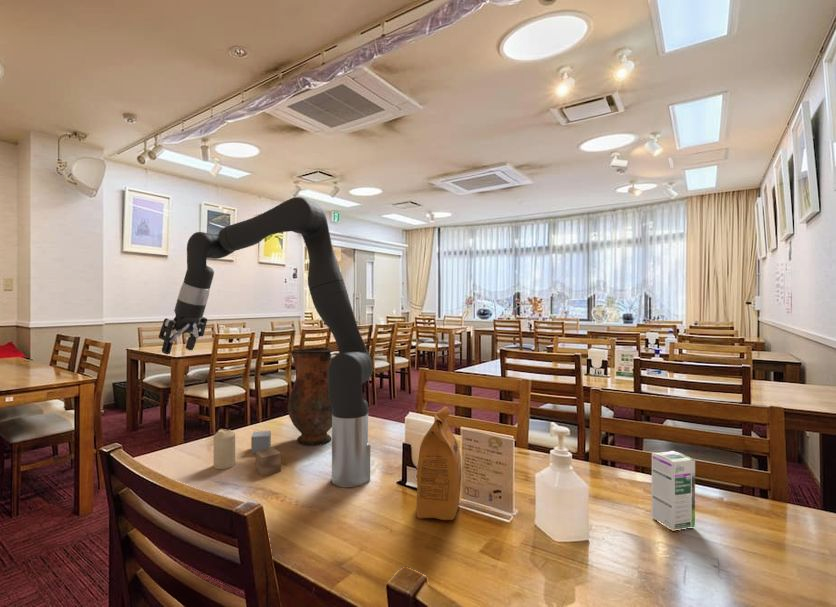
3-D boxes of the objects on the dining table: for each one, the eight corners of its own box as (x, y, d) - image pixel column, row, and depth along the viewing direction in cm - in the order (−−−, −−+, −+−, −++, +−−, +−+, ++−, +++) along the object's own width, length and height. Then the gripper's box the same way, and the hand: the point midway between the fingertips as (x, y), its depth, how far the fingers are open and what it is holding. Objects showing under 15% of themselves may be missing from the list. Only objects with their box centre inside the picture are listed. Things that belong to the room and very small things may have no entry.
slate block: (270, 446, 132) (270, 430, 132) (268, 452, 127) (268, 435, 127) (253, 447, 131) (253, 431, 131) (251, 453, 126) (251, 436, 126)
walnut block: (274, 465, 118) (274, 447, 117) (280, 471, 114) (280, 453, 114) (256, 470, 114) (256, 451, 114) (262, 476, 111) (262, 457, 110)
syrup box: (673, 533, 86) (674, 462, 85) (650, 518, 91) (651, 451, 91) (695, 529, 87) (696, 459, 87) (671, 514, 93) (672, 449, 92)
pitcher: (303, 430, 148) (303, 345, 147) (360, 435, 143) (360, 347, 142) (276, 446, 132) (276, 351, 131) (339, 453, 127) (339, 354, 126)
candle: (239, 462, 120) (239, 427, 119) (228, 470, 114) (228, 433, 114) (220, 461, 120) (220, 426, 120) (209, 469, 115) (209, 432, 114)
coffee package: (466, 499, 99) (467, 406, 98) (455, 527, 87) (456, 421, 86) (426, 493, 102) (426, 402, 101) (409, 519, 90) (410, 417, 89)
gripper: (183, 305, 114) (167, 360, 116) (220, 303, 128) (205, 352, 130) (161, 295, 116) (146, 349, 118) (200, 295, 130) (186, 343, 132)
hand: (177, 351), depth 124 cm, fingers open, 8 cm apart
